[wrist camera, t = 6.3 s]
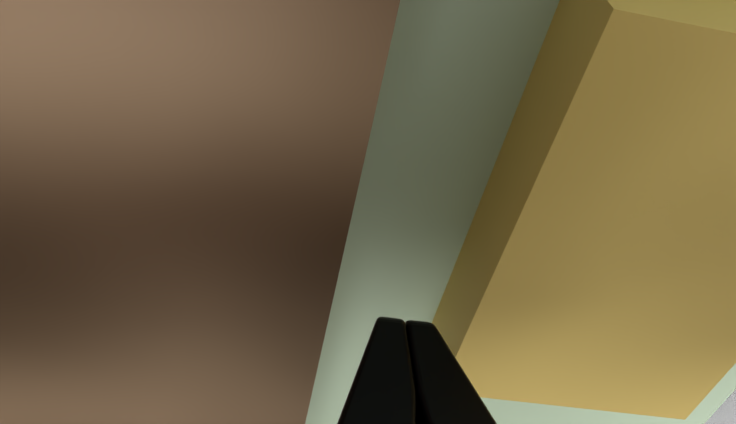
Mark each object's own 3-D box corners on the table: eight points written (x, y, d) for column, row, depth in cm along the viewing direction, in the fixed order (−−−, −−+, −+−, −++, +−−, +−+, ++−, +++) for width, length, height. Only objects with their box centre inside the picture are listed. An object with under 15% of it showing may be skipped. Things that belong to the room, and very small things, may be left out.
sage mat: (633, 490, 22) (635, 498, 22) (279, 459, 21) (278, 469, 20) (1591, -589, 7) (1631, -598, 7) (559, -999, 6) (568, -1026, 5)
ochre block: (439, 392, 15) (431, 323, 16) (685, 419, 15) (654, 351, 17) (614, 8, 9) (575, -41, 10) (985, 83, 10) (899, 27, 11)
